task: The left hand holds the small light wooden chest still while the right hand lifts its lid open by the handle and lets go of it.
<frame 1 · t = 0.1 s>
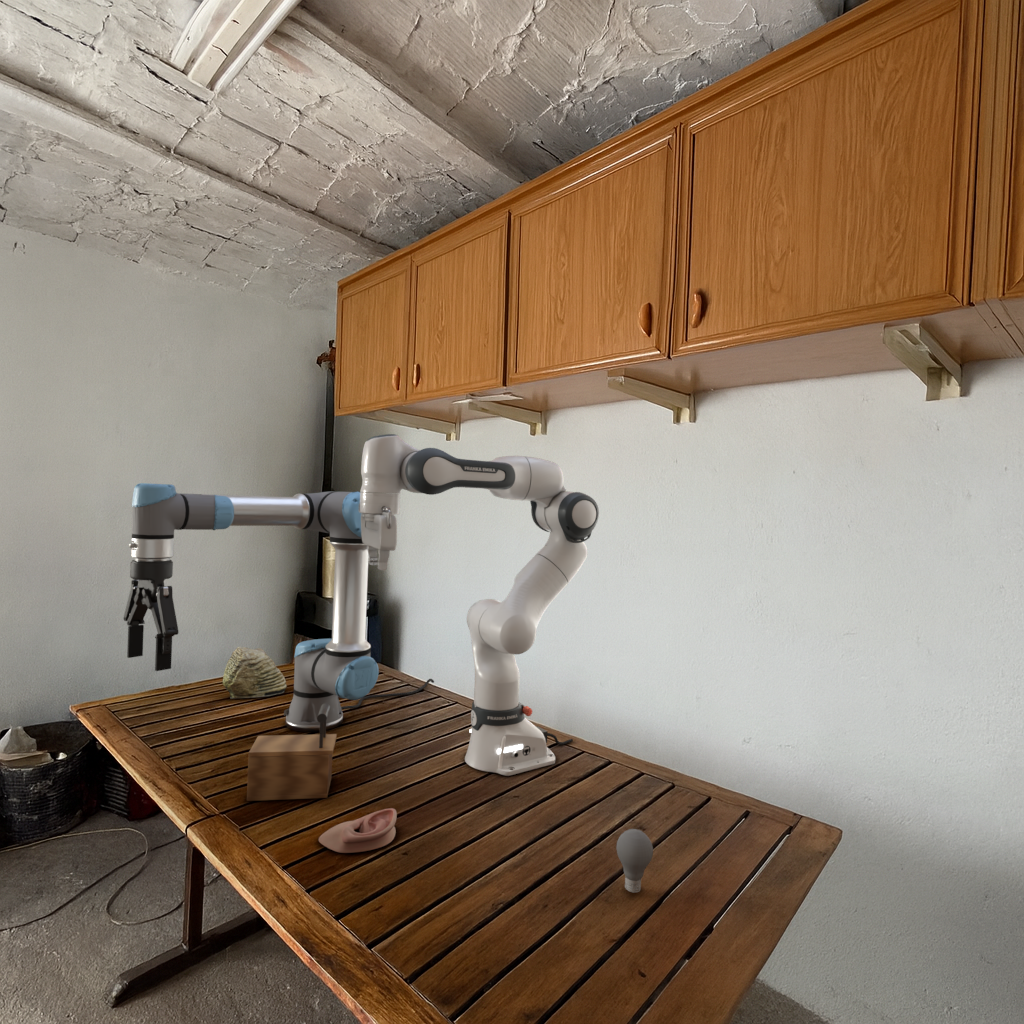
left hand: (148, 663, 129), 28 cm above the table, tool pointing down, fingers open, 13 cm apart
right hand: (377, 567, 143), 48 cm above the table, tool pointing down, fingers open, 8 cm apart
fossil: (254, 694, 198), on the table
lid: (295, 727, 136), point 13 cm above the table, hinge at 0.0°
chest: (290, 789, 136), on the table
light bulb: (632, 891, 106), on the table
anatomical model: (358, 838, 118), on the table
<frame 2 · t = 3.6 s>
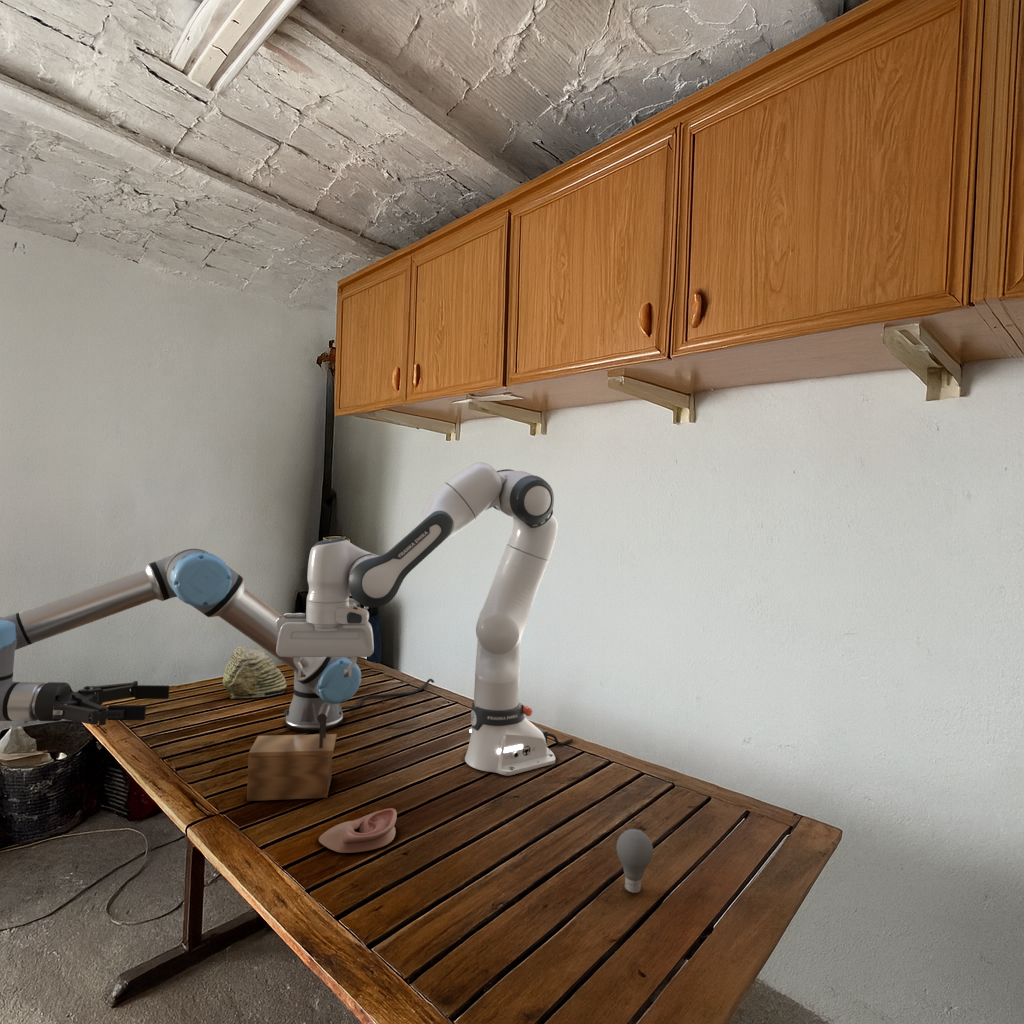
left hand: (157, 701, 131), 19 cm above the table, tool horizontal, fingers open, 13 cm apart
right hand: (325, 676, 137), 24 cm above the table, tool pointing down, fingers open, 8 cm apart
nothing on the table moved.
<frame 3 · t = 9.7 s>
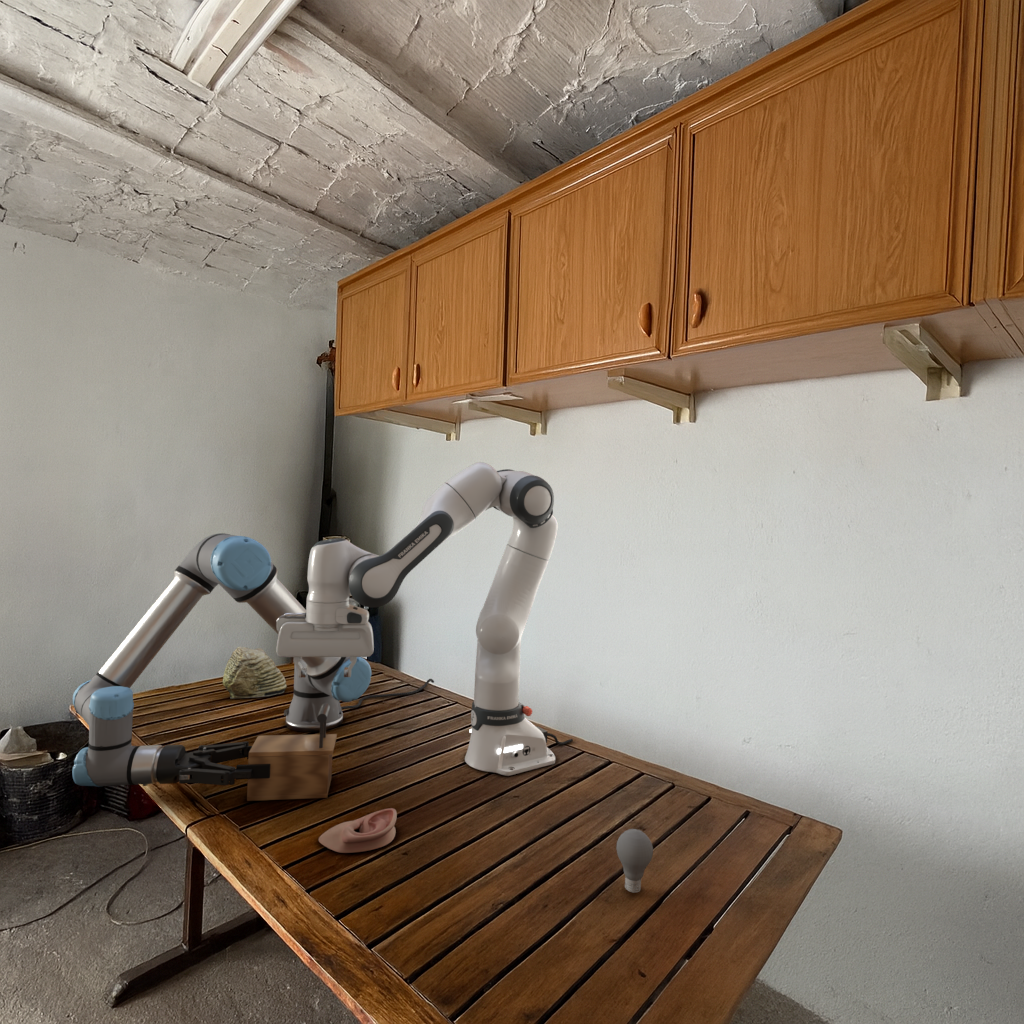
left hand: (274, 761, 136), 6 cm above the table, tool horizontal, fingers closed on chest, 9 cm apart
right hand: (325, 676, 137), 24 cm above the table, tool pointing down, fingers open, 8 cm apart
chest: (290, 789, 137), on the table, touching left hand
everything else where it was.
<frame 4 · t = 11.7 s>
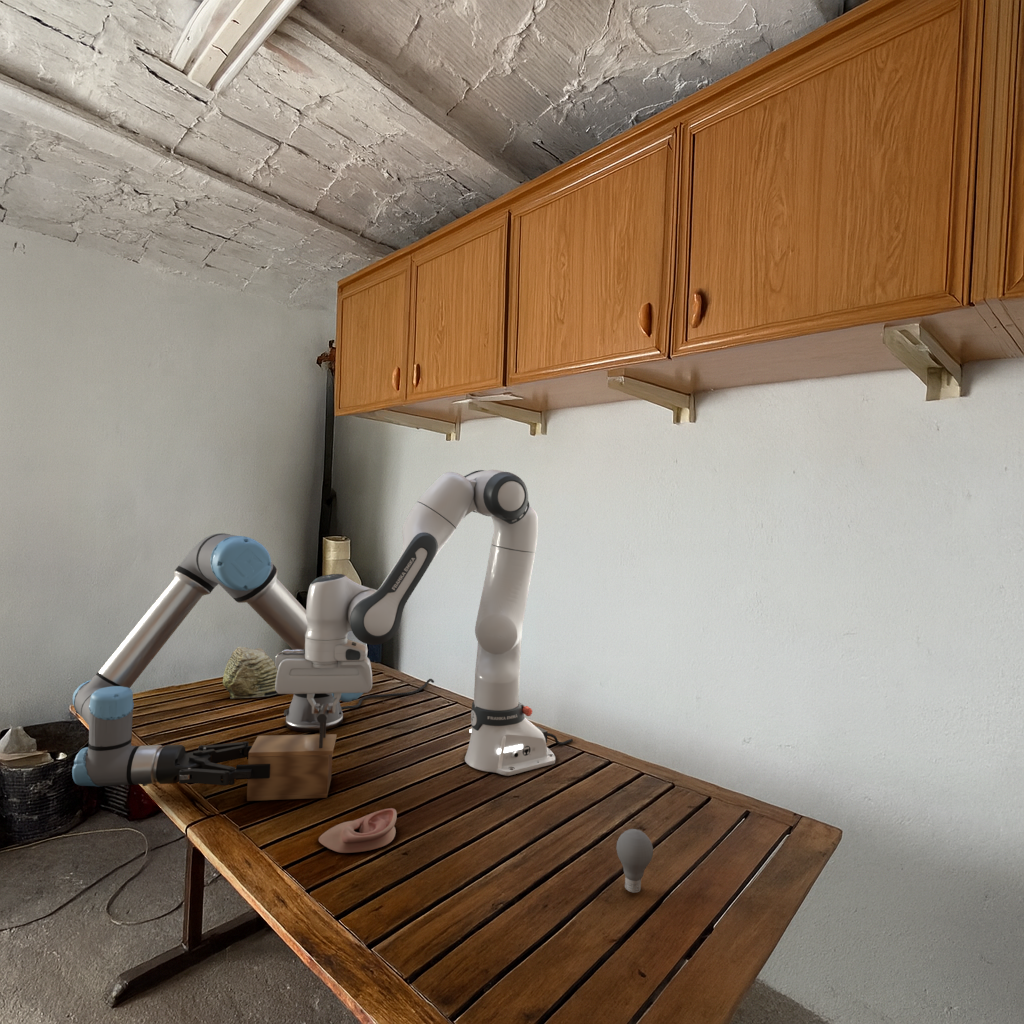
left hand: (274, 761, 136), 6 cm above the table, tool horizontal, fingers closed on chest, 9 cm apart
right hand: (323, 712, 137), 17 cm above the table, tool pointing down, fingers closed on lid, 2 cm apart
lid: (295, 728, 136), point 13 cm above the table, hinge at -0.2°, touching right hand
chest: (290, 789, 137), on the table, touching left hand
everything else where it was.
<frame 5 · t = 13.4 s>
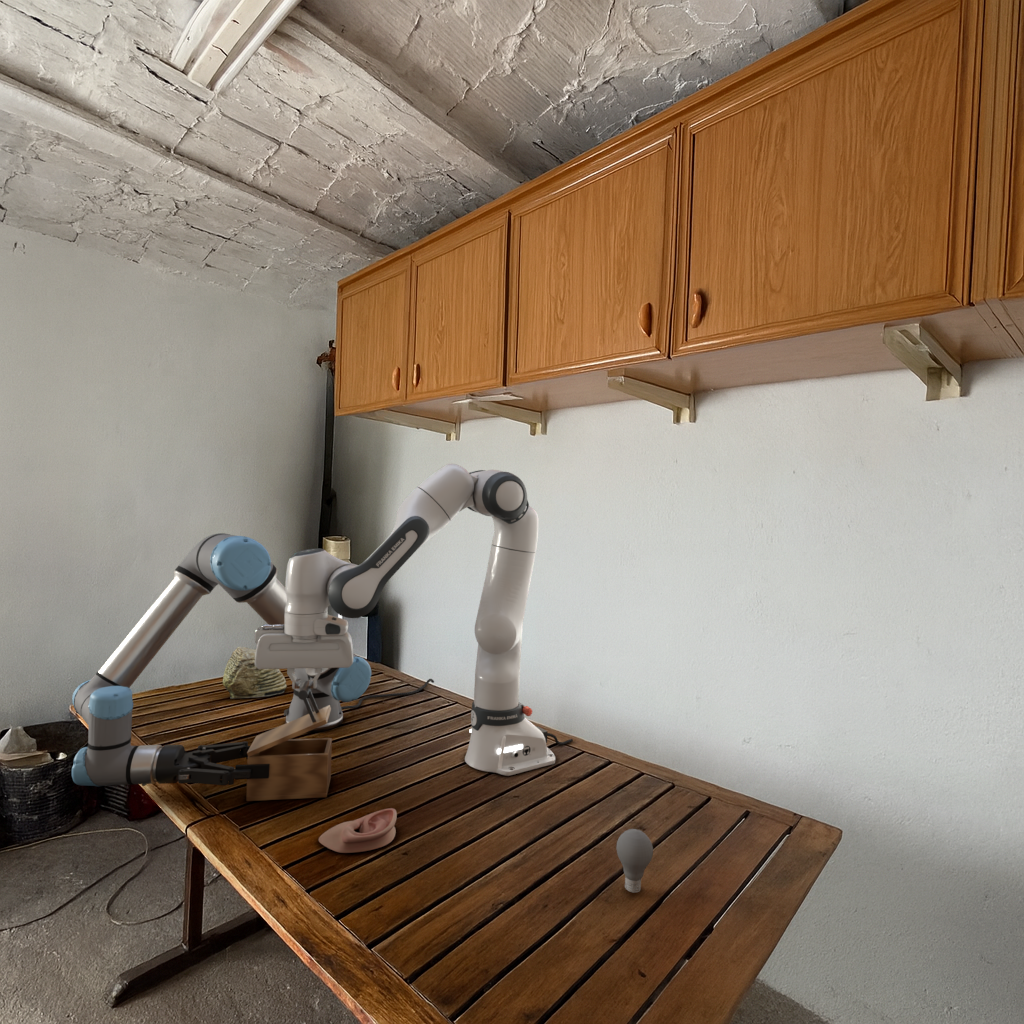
left hand: (273, 761, 136), 6 cm above the table, tool horizontal, fingers closed on chest, 9 cm apart
right hand: (304, 688, 137), 22 cm above the table, tool pointing down, fingers closed
lid: (284, 714, 136), point 16 cm above the table, hinge at 22.8°, touching right hand
chest: (290, 789, 137), on the table, touching left hand
everything else where it was.
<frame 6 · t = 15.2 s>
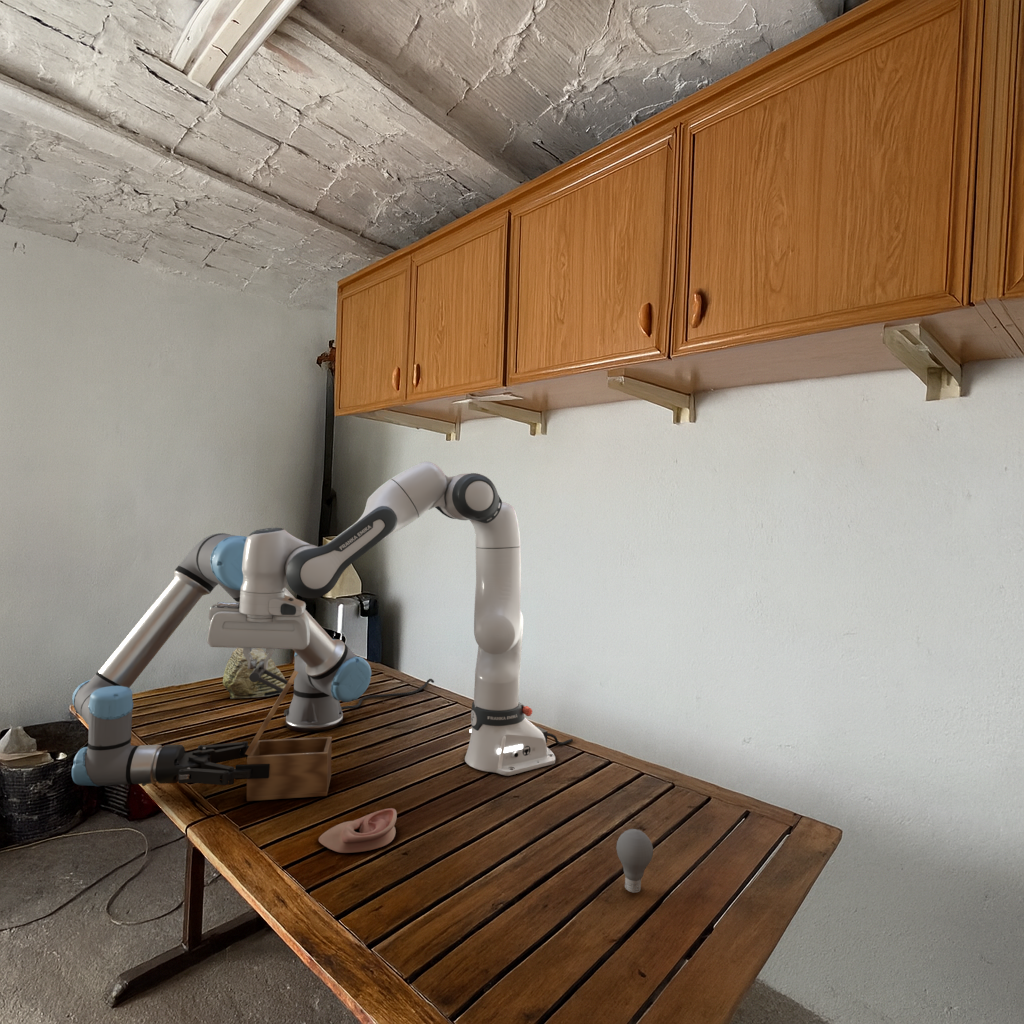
left hand: (273, 761, 136), 6 cm above the table, tool horizontal, fingers closed on chest, 9 cm apart
right hand: (257, 668, 135), 26 cm above the table, tool pointing down, fingers closed, pressing on lid
lid: (256, 703, 135), point 19 cm above the table, hinge at 60.3°, touching right hand
chest: (290, 788, 137), on the table, touching left hand
everything else where it was.
when the left hand's fingers open (6 cm above the table, at t = 20.1 s): chest stays where it is, on the table.
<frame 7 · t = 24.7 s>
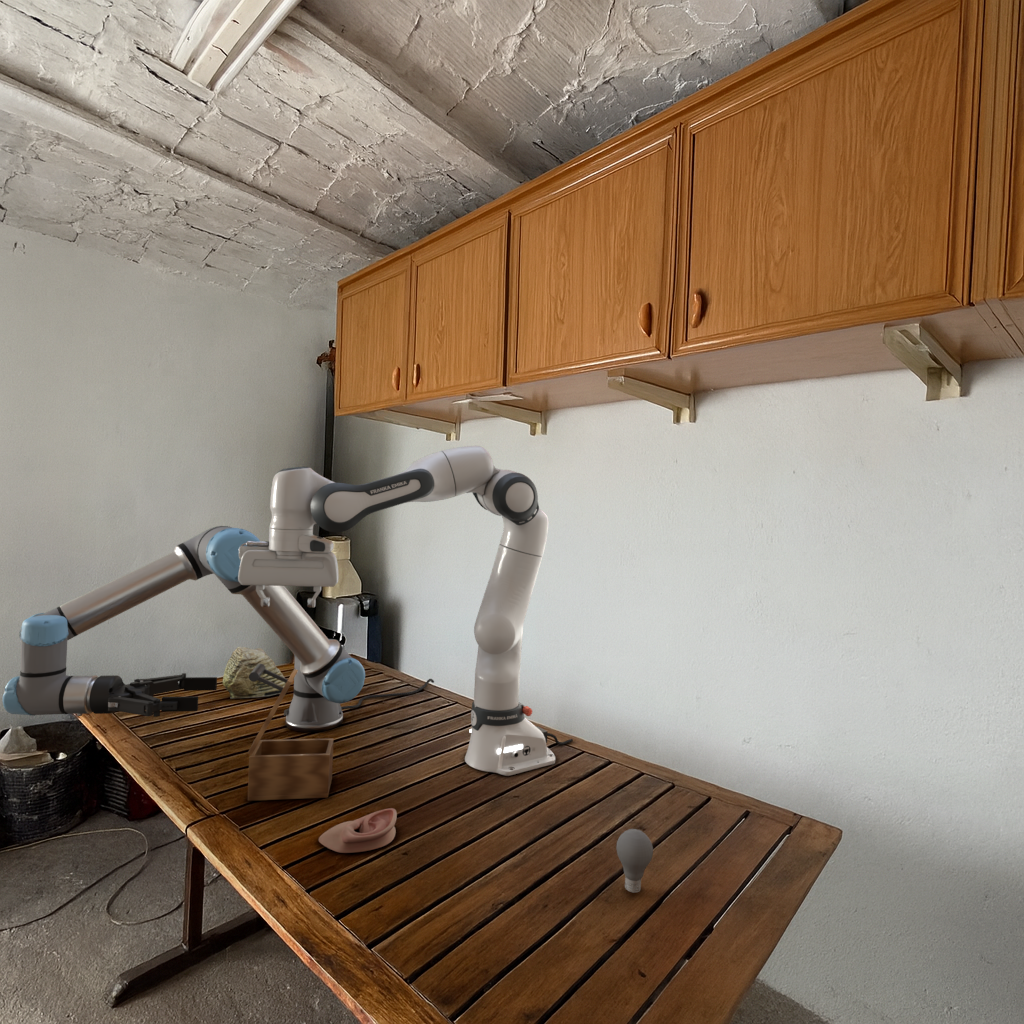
left hand: (207, 693, 133), 21 cm above the table, tool horizontal, fingers open, 13 cm apart
right hand: (288, 606, 135), 40 cm above the table, tool pointing down, fingers open, 8 cm apart
lid: (257, 703, 135), point 19 cm above the table, hinge at 63.9°
chest: (291, 789, 137), on the table
everything else where it was.
at the end: lid at +64° (first picture: +0°); the left hand is holding nothing; the right hand is holding nothing; chest tilted 0°; chest never tilted more than 2° during the clip; chest moved 0.2 cm from its start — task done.
